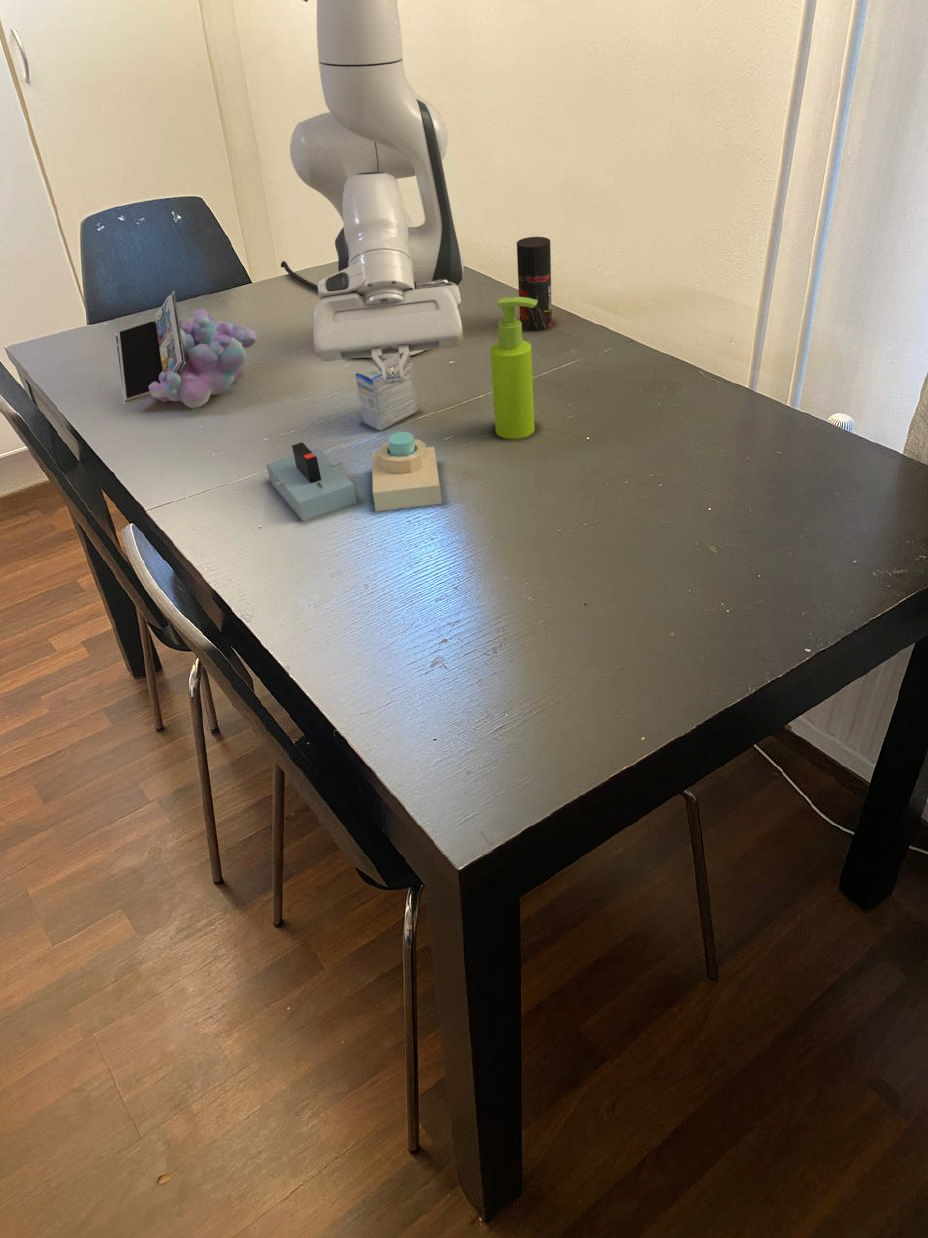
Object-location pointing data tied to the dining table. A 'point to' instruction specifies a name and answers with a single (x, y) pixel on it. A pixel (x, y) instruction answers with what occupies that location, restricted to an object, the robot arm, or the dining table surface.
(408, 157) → the robot arm
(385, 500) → the beige nut base
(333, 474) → the switch panel
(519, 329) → the soap dispenser
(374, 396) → the medicine box
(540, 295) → the deodorant
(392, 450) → the teal short cylinder
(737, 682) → the dining table surface
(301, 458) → the black rectangular block
